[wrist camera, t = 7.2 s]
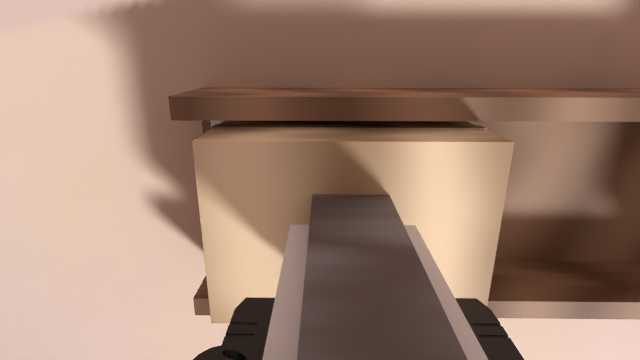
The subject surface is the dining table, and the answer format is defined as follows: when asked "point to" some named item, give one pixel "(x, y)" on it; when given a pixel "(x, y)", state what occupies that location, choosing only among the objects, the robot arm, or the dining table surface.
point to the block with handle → (353, 226)
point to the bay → (523, 183)
